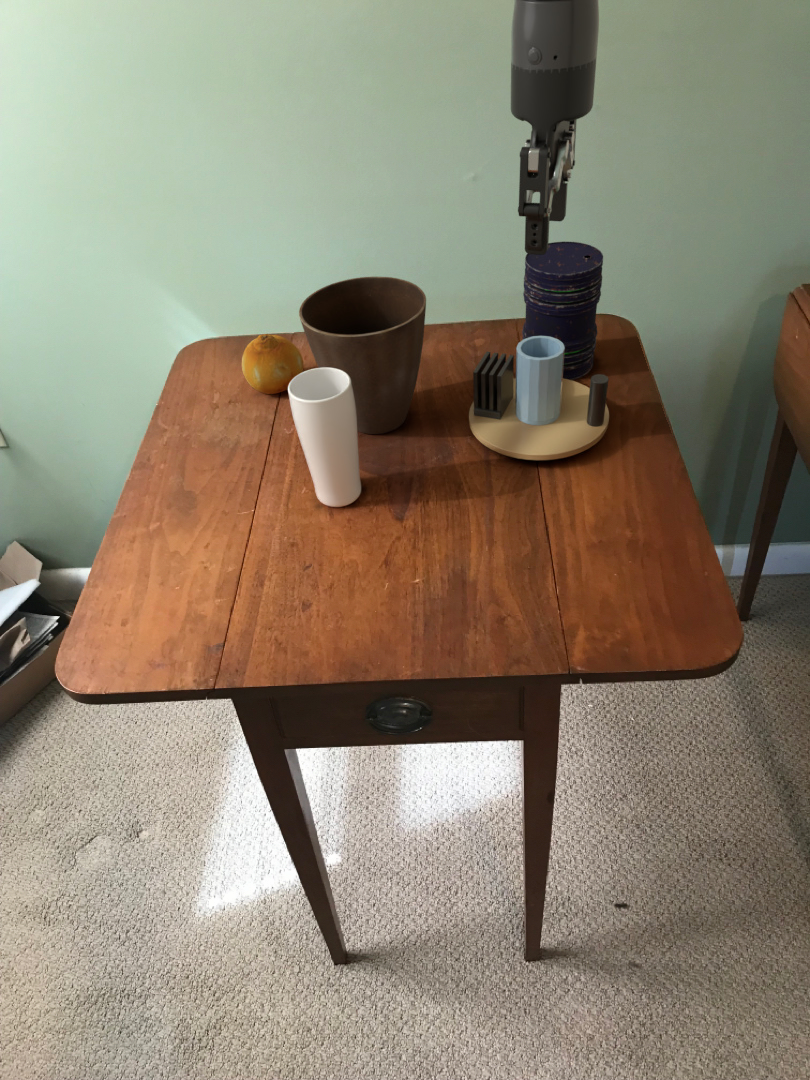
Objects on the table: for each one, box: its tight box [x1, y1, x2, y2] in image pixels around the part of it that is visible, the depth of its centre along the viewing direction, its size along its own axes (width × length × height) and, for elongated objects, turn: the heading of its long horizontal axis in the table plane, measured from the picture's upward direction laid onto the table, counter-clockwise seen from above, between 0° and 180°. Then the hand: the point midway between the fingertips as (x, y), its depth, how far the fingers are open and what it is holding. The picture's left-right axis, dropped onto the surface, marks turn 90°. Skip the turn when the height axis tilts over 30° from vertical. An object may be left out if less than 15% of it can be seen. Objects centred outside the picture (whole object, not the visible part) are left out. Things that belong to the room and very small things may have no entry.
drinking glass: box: [287, 367, 362, 508], centre depth 84 cm, size 7×7×15 cm
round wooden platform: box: [468, 351, 610, 460], centre depth 93 cm, size 17×17×7 cm
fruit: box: [241, 333, 304, 395], centre depth 106 cm, size 8×8×8 cm
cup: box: [515, 336, 565, 425], centre depth 91 cm, size 5×5×9 cm
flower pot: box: [298, 275, 427, 435], centre depth 95 cm, size 15×15×16 cm
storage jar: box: [521, 241, 604, 381], centre depth 101 cm, size 10×10×15 cm
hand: (545, 235), depth 79 cm, fingers open, 8 cm apart
